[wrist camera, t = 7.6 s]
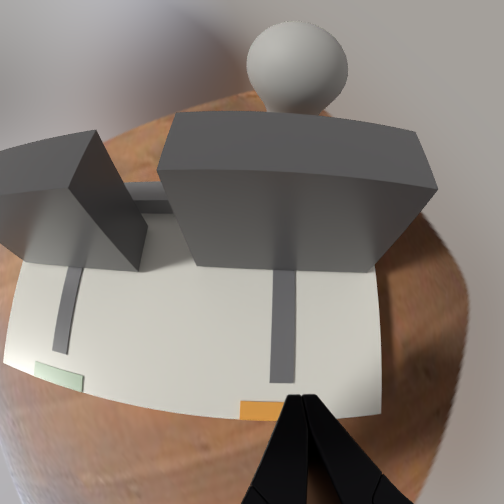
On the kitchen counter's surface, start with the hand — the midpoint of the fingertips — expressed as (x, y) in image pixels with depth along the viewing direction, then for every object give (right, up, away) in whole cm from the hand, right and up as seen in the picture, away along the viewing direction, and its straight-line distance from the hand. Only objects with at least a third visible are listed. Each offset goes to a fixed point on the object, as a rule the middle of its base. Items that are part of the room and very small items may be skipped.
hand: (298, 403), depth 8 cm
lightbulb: (+1, +12, +15) cm, 19 cm away
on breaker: (-13, +5, +9) cm, 16 cm away
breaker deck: (-6, +1, +9) cm, 11 cm away
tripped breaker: (0, +5, +9) cm, 10 cm away
